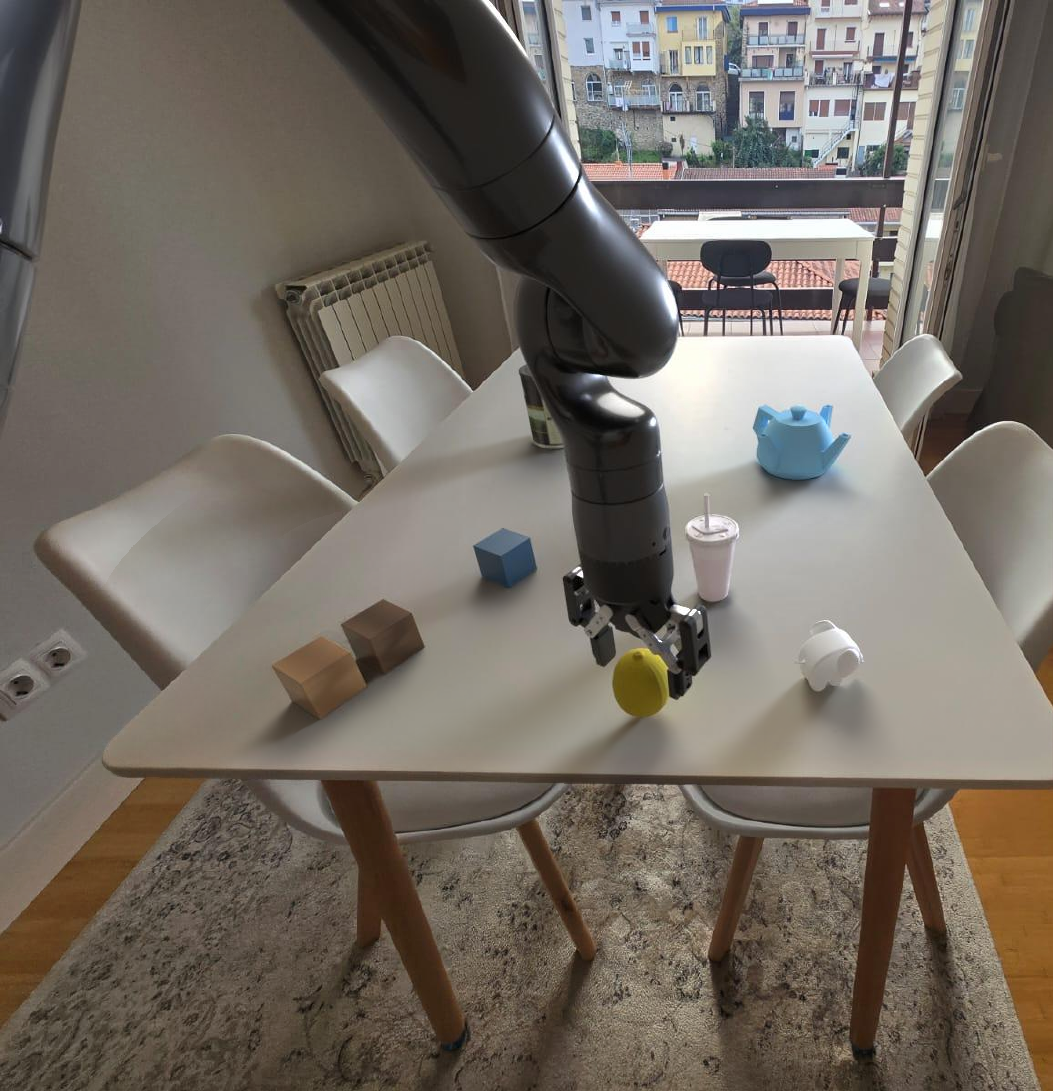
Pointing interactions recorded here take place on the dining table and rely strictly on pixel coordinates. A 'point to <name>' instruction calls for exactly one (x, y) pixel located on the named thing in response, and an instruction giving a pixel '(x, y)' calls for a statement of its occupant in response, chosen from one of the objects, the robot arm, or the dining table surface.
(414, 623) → the block
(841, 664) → the white rounded piece
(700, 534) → the smoothie
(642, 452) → the robot arm
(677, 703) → the dining table surface
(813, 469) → the teapot
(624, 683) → the lemon
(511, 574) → the block
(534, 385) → the coffee can
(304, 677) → the block
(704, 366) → the dining table surface
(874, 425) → the dining table surface
